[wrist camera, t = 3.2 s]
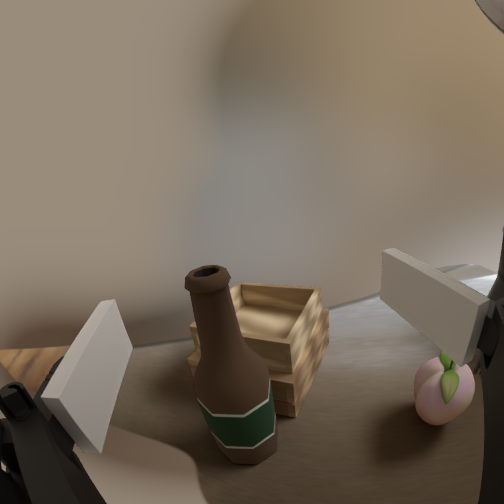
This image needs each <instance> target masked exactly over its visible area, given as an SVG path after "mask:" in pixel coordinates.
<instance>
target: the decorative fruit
mask: <svg viewBox="0 0 504 504" xmlns="http://www.w3.org/2000/svg"><path fill="white" fill-rule="evenodd" d="M474 392H475V381H474V377H473V374H472V371H471V369H470V368H469V366H468V365H467V364H466V365H464V366H462V367H460V366H458V365H457V364H456V363H455V362H454V361H453V360H452V359H451V358H450V357H448V356H447V355H446V354H445V353H444V352H441V354H440V356H439V357H436V358H433V359H431V360H429V361H427V362H426V363H425V364H423V365H422V366H421V368H420V369H419V370H418V372H417V374H416V376H415V380H414V396H415V399H416V402H415V407H416V411H417V413H418V415H419V416H420V417H421V419H422V420H424V421H425V422H427V423H429V424H432V425H442V424H445V423H448V422H450V421H452V420H453V419H455V418H456V417H458V416H459V415H460V414H461V413H463V412H464V411H465V410H466V408H467V407H468V406H469V404H470V403H471V401H472V398H473V396H474Z"/></svg>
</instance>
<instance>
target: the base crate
mask: <svg viewBox="0 0 504 504" xmlns="http://www.w3.org/2000/svg"><path fill="white" fill-rule="evenodd" d="M328 328H329V309H326V308H322V315H321V317H320V319H319V321H318V324H317V326H316V328H315V330H314V332H313V334H312V336H311V338H310V340H309V342H308V344H307V347H306V349H305V351H304V353H303V355H302V357H301V359H300V360H299V362H298V364H297V366H296V368H295V370H294V372H293V374H291V373H286V372H280V371H274V370H269V369H268V372H269V376H270V381H271V388H272V394H273V401H274V408H275V413H276V414H280V415H285V416H290V417H294V418H296V417H297V415H298V413H299V410H300V408H301V406H302V404H303V402H304V400H305V397H306V395H307V393H308V391H309V389H310V386H311V384H312V382H313V379H314V377H315V375H316V372H317V370H318V368H319V365H320V363H321V360H322V358H323V355H324V353H325V350H326V348H327V345H328V343H329V329H328ZM200 358H201V354H199V353H197V351H196V350H195V351H194V352H193V353H192V354H191V355H190V356H189V357H188V358H187V361H188V363H189V366H190V369H191V372H192V375H193V377H194V373H195V370H196V368H197V365H198V363H199V360H200Z"/></svg>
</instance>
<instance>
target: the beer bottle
mask: <svg viewBox="0 0 504 504" xmlns="http://www.w3.org/2000/svg"><path fill="white" fill-rule="evenodd" d="M230 278H231V277H230V275H229V273H228V271H227V269H226V268H224V267H221V266H218V265H209V266H202V267H200V268H197V269H195V270H192V271H190V272H189V274H188V275H187V276H186V277H185V289H187V290H188V291H190V296H191V301H192V307H193V312H194V317H195V322H196V327H197V332H198V337H199V341H200V350H201V358H200V360H199V363H198V365H197V368H196V370H195V373H194V382H193V386H194V390H195V394H196V397H197V400H198V402H199V405H200V407H201V410H202V412H203V414H204V417H205V419H206V421H207V424H208V426H209V428H210V430H211V433H212V435H213V437H214V439H215V442H216V444H217V445H218V447H219V449H220V450H221V451H222V452H223V453H224V454H225V455H226V456H227V457H228V458H229V459H230V460H231V461H232V462H233V463H236V464H259V463H260V462H262V461H263V460H265V459H266V458H267V457H269V456H270V455H272V454H273V453H274V452H276V449H277V434H278V432H277V421H276V414H275V408H274V401H273V394H272V388H271V381H270V376H269V372H268V368H267V365H266V364H265V362H264V361H263V360H262V358H261V357H260V355H258V354H257V353H256V352H254V351H253V350H252V349H250V348H249V347H248V346H247V345H246V343H245V341H244V338H243V336H242V334H241V330H240V327H239V323H238V320H237V316H236V312H235V308H234V305H233V301H232V297H231V293H230V290H229V286H228V283H229V280H230Z"/></svg>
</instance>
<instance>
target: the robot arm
mask: <svg viewBox="0 0 504 504" xmlns="http://www.w3.org/2000/svg"><path fill="white" fill-rule="evenodd" d="M475 1H476V3H477V5H478V6H479V7H480V9H481V11H482V12H483V13H484V15H485V16H486V17H487V18H488V19H489V20H490V22H491V23H492V24H494V25H495V26H496V27H497V29H499V30H500V31H501V32H502V33H503V34H504V0H475ZM380 299H381V300H382V301H383V302H385V303H386V304H387V305H388V306H390V307H391V308H392V309H393V310H394V311H396V312H397V313H398V314H399V315H400V316H402V317H403V318H404V319H405V320H406V321H408V322H409V323H410V324H411V325H412V326H414V327H415V328H416V329H417V330H418V331H420V332H421V333H422V334H423V335H424V336H425V337H427V338H428V339H429V340H430V341H431V342H432V343H434V344H435V345H436V346H437V347H438V348H439V349H440V350H442V351H443V352H444V353H445V354H446V355H447V356H448V357H450V358H451V359H452V360H453V361H454V362H455V363H456V364H457V365H458V366H460V367H462V366H464V365H466V364H467V363H469V362H470V361H472V360H473V357H474V354H475V351H476V348H478V349H480V350H481V354H480V357H479V359H478V362H477V365H476V367H475V370H474V374H476V373H477V370H478V369H479V368H481V370H480V373H479V374H481V377H482V387H483V399H484V426H485V435H484V461H483V473H482V482H481V490H480V496H479V502H478V504H504V227H503V242H502V250H501V257H500V263H499V270H498V275H497V278H496V280H495V282H494V284H493V286H492V288H491V290H490V292H489V294H488V296H487V297H486V296H484V295H483V294H481V293H479V292H477V291H476V290H474V289H472V288H470V287H468V286H467V285H465V284H463V283H461V282H460V281H457V280H455V279H453V278H452V277H450V276H448V275H446V274H444V273H442V272H440V271H439V270H437V269H435V268H433V267H431V266H429V265H427V264H425V263H423V262H421V261H419V260H417V259H415V258H413V257H411V256H409V255H407V254H405V253H403V252H401V251H399V250H397V249H395V248H391V249H387V250H382V274H381V293H380ZM132 349H133V347H132V345H131V342H130V340H129V337H128V335H127V332H126V330H125V327H124V324H123V321H122V319H121V316H120V313H119V310H118V307H117V304H116V301H115V299H113V300H106V301H101V302H100V303H99V305H98V306H97V308H96V309H95V311H94V312H93V313H92V315H91V316H90V318H89V319H88V321H87V322H86V324H85V325H84V327H83V328H82V330H81V331H80V333H79V334H78V336H77V337H76V339H75V340H74V342H73V344H72V345H71V347H70V348H69V350H68V351H67V353H66V355H65V356H63V357H61V358H60V359H59V360H58V361H57V362H56V363H55V364H54V365H53V366H52V368H51V370H50V371H49V374H48V375H47V376H46V378H45V381H43V383H42V385H41V386H40V388H39V390H38V392H37V393H36V395H35V397H34V399H33V400H32V398H31V397H30V395H29V394H28V392H27V390H26V389H25V387H24V386H23V384H21V383H19V382H13V383H10V384H7V385H6V386H4V387H2V388H1V390H0V410H1V411H2V413H3V414H4V415H5V417H6V418H3V419H0V504H106V502H105V500H104V499H103V497H102V496H101V494H100V493H99V491H98V490H97V489H96V487H95V485H94V484H93V482H92V481H91V479H90V477H89V476H88V474H87V473H86V471H85V469H84V467H83V465H82V464H81V462H80V460H79V458H78V457H77V455H76V454H75V453H74V452H73V446H74V443H76V444H77V446H78V447H79V448H80V449H81V450H82V451H83V452H85V453H94V454H101V453H102V449H103V445H104V441H105V438H106V434H107V429H108V426H109V422H110V419H111V415H112V412H113V408H114V405H115V401H116V398H117V395H118V391H119V388H120V385H121V382H122V379H123V376H124V372H125V369H126V366H127V363H128V360H129V357H130V354H131V351H132ZM1 462H2V463H3V464H4V465H5V466H6V472H5V471H4V470H2V468H1Z"/></svg>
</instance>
